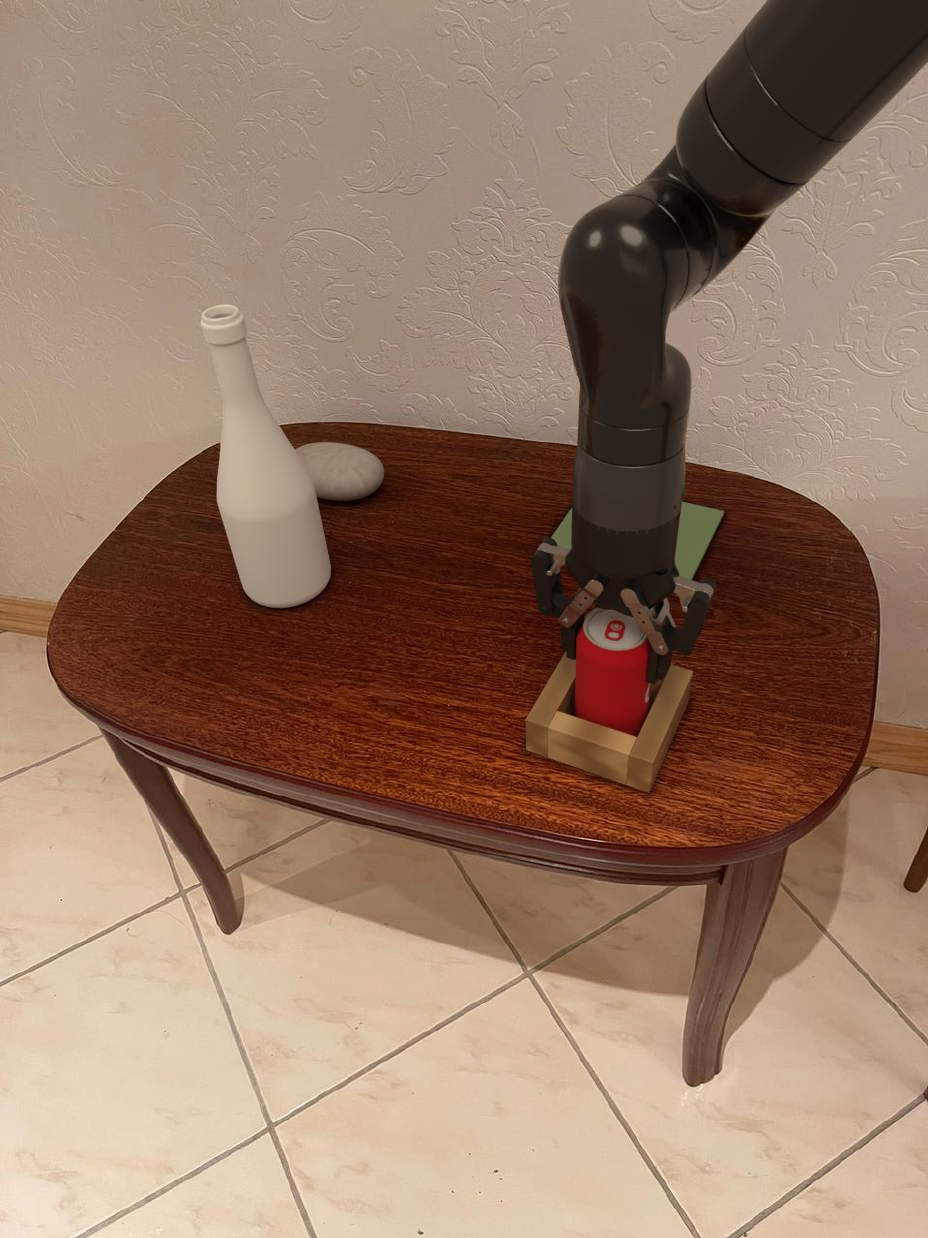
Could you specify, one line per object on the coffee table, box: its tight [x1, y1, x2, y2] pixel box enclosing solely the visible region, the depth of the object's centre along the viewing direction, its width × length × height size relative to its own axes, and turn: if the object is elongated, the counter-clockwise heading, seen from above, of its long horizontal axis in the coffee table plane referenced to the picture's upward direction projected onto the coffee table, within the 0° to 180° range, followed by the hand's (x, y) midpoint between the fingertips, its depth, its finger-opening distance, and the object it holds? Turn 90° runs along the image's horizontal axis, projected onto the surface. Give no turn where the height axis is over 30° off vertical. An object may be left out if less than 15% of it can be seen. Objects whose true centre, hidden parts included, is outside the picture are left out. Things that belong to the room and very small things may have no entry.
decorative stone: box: [294, 441, 385, 502], centre depth 106 cm, size 13×9×5 cm
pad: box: [550, 501, 725, 581], centre depth 98 cm, size 16×13×1 cm
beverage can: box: [574, 607, 652, 737], centre depth 74 cm, size 6×6×12 cm
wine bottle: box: [200, 304, 332, 609], centre depth 85 cm, size 10×10×30 cm
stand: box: [525, 651, 694, 794], centre depth 76 cm, size 11×11×4 cm
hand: (614, 664), depth 73 cm, fingers closed on beverage can, 6 cm apart
